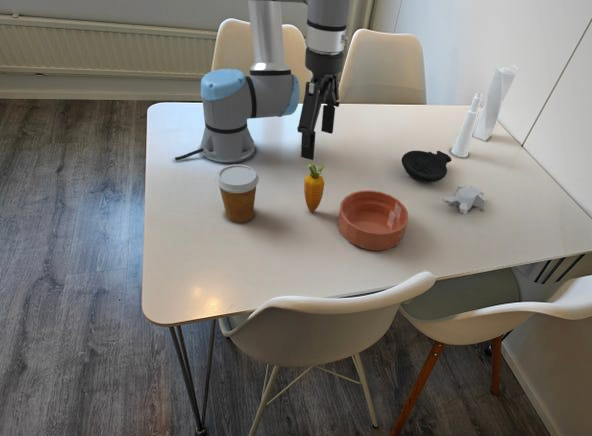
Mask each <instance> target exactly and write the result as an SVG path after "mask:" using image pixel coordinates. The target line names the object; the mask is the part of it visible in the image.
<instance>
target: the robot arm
mask: <svg viewBox="0 0 592 436" xmlns="http://www.w3.org/2000/svg"><path fill="white" fill-rule="evenodd" d="M350 1H351V0H247V6H248V7H247V8H248V15H249V16H248V17H249V25H250V37H251V44H252V54H253V63H252V65H251V66H250V68H249V75H245V73H244V72H243V71H242V70H240V69H235V68H234V69H232V68H221V69H220V68H219V69H214V70H211V71H209V72H207V73H206V74H205V75H203V76H202V78H201V79H200V97H201V100H202V101H201V102H202V111H203V120H204V130H203V134H202V139H201V143H200V148H199V149H195V150H193V151H190V152H189V153H185V154H183V155H180V156H175V157H174V160H175V161H182V160H184V159H187V158H189V157H191V156H195V155H197V154H200V153H201V154H202V155H203V156H204V157H205V158H206V159H208V160H210V161H212V162H216V163H220V164H221V163H222V164H235V163H241V162H244V161H246V160H248V159H250V158H251V157H252V156H254V153H255V140H254V139H253V136H252V135H251V132H250V130H249V128H248V120H249V119H250V120H251V119H262V118H273V117H274V118H276V117H278V118H282V117H285V116H291V115H293V114H294V113H295V112H296V111H297V109H298V106H299V102H300V94H301V93H300V92H301V89H300V84H299V78H298V77H297V76H296V75H295V74H293V73H292V68H291V67H290V66H289V64H287V62H286V59H285V58H286V57H285V46H284V45H285V43H284V33H283V32H284V30H283V20H282V17H283V16H282V6H281V3H298V4H300V3H301V4H305V5H307V14H306V15H307V16H306V29H305V30H306V31H305V45H306V48H305V55H304V56H305V57H304V67H305V68H306V69H307V70H308V71H310V72H311V73H312V77H311V78H310V81H306V82H305V88H304V95H303V96H304V97H303V102H302V106H301V112H300V117H299V121H298V126H297V128H296V129H297V133H300V134H301V142H300V143H301V145H300V158H302V159H306V160H310V161H314V160H315V147H316V131H315V130H316V125H317V121H318V118H319V115H320V111H321V108H322V118H321V132H323V133H327V134H333V133H334V127H335V125H334V124H335V114H336V108H339V106H340V101H339V100H340V93H339V92H340V91H339V74H340V73H341V72H342V70H343V64H344V53H343V51H344V50H345V44H346V43H345V42H347V41H348V40H349V36H348V35H347V34H346V33H347V25H348V17H349V8H350ZM322 104H324V105H323V106H322Z"/></svg>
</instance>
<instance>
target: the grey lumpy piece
mask: <svg viewBox="0 0 592 436" xmlns="http://www.w3.org/2000/svg"><path fill="white" fill-rule="evenodd" d="M455 192H456V194H455V195H454V196H444V197H443V198H442V202H444V203H445V204H449V203H453V204H454V205H455V206H457V207H458V208H459V212H460V213H461V214H464V215H467V213H468V211H470V210H471V208H472V207H473V206H474V207H478V208H479V207H480V208H483V207H485V205H486V203H487V200H486V199H485V198H484V195H485V192H483V191H482V190H480V189H479V188H478V187H477V188H476V186H473V185H469V187H467V186H463V185H458V186H457V188H456V190H455Z"/></svg>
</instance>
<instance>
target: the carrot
mask: <svg viewBox="0 0 592 436" xmlns="http://www.w3.org/2000/svg"><path fill="white" fill-rule="evenodd" d="M325 168H326V166H325V165H324V164H322V165H321V166H320V167H319V169H317V165H316V164H315V163H313V164H311V163H310V164H308V169H309V172H308V175H307V176H305V177H304V182H303V183H304V184H303V189H304V191H303V193H304V199H305V204H306V207H307V210H308V211H309V212H310V213H311V214H313V213H314V212H316V210H317V209H318V208H319V206H320V204H321V202H322V199H323V194H324V189H325V179H324V177H323V176H322V172H323V170H324V169H325Z"/></svg>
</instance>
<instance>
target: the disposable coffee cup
mask: <svg viewBox="0 0 592 436" xmlns="http://www.w3.org/2000/svg"><path fill="white" fill-rule="evenodd" d="M259 178H260V177H259V176H258V173H257V172H256V170H255V169H254V168H252V167H251V166H249V165H245V164H238V163H237V164H230V165H226V166H224V167H222V168H221V169H220V170H219V171H218V172H217V175H216V177H215V182H216V185H217V186H218V188H219V191H220V196H221V198H222V202H223V207H224V211H225V214H226V218H227V219H228V220H229V221H231V222H234V223H244V222H247V221H249V220H250V219H252V218H253V216H254V209H255V199H256V192H257V185H258V184H259V180H260V179H259Z"/></svg>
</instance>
